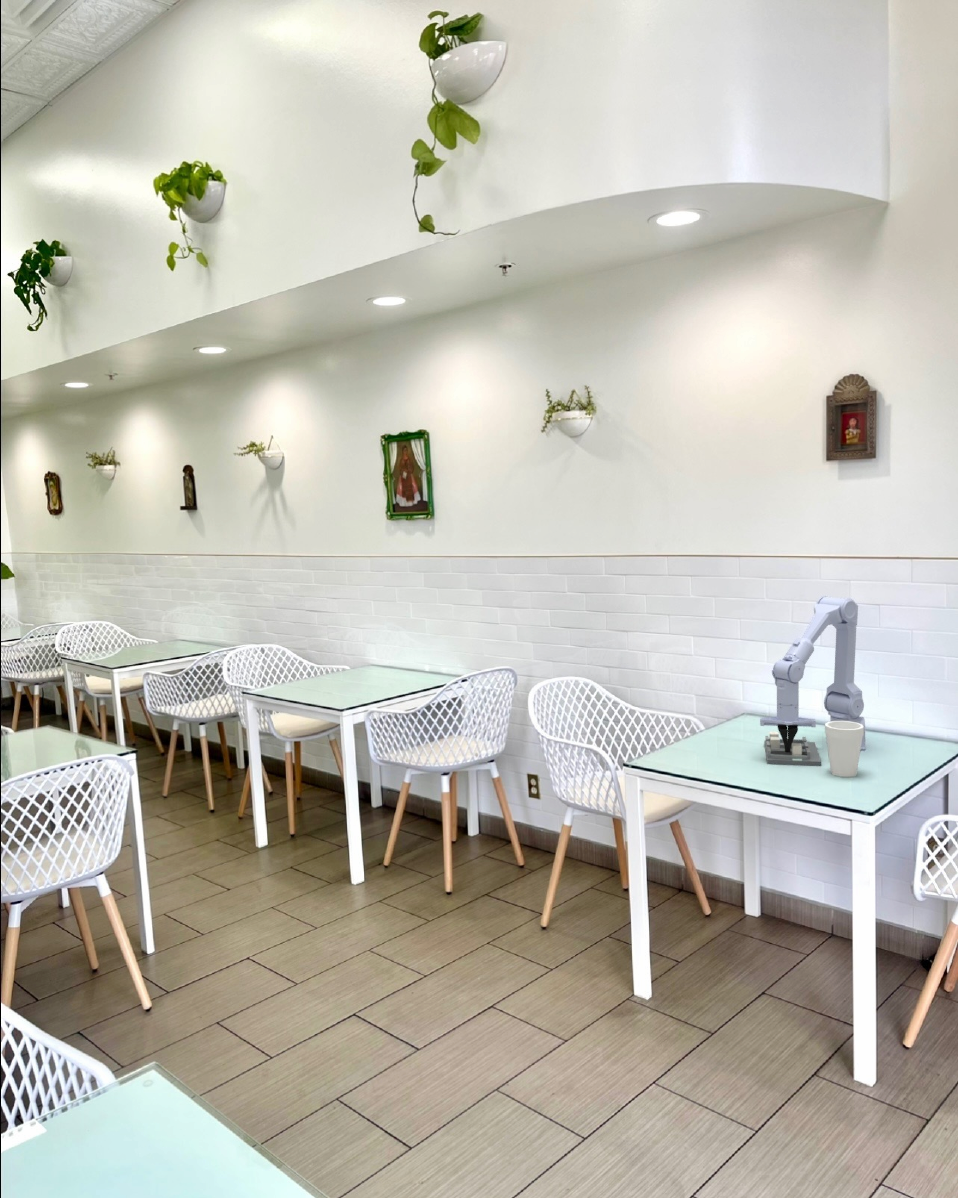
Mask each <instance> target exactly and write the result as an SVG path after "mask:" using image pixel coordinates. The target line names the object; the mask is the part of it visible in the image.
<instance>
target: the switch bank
mask: <svg viewBox="0 0 958 1198" xmlns="http://www.w3.org/2000/svg"><path fill="white" fill-rule="evenodd" d="M764 736H765V739H764V749H765V756H766V763H767V765H783V766H785V765H787V766H788V765H789V766H810V767H811V766H813V767H815V766H816V767H822V760H821V757H820V753H819V751H818V748H817V745H816V743H815V742H814V741H807V738H806V736H802V738H801V739H799V738H798V739H796V738H794V739H793V742H792V743H801V746H802V755H792V745H791V750H790V753H789V752H785V747H784V742H783V739H782V738H780V749H772V748H770V743H769V735H764ZM787 741H788V738H787Z"/></svg>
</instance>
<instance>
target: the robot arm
mask: <svg viewBox="0 0 958 1198" xmlns="http://www.w3.org/2000/svg"><path fill="white" fill-rule="evenodd" d="M813 611H814V612H813V613H814V615H813V617H812V619H810V621H809V623H808V626H807V628H806V629H805V631H804V633H803V634H802V637H800V638H796V639H794V640H793V642H792V644H791V646H790V647H789V649H787V652H786V653H785V655H784V656H783V658H782V659H779V660H778V661H776V662H775V663H774V664H773V667H772V670H771V674H772V677H773V679H774V685H775V686H776V716H769V717H768V716H767V717H759V725H760V727H765V726H771V727H775V726H776V727H777V730H778V733H779V734H780V736H781V739H783V742H784V747H785V752H789V753H790V750H791V745H792V742H793V739H795V737H796V736H797V734H798V731H799V727H804V728H805V727H806V728H807V727H808V728H816V723H817V721H816V719H815V718H805V717H799V711H800V710H799V709H800V708H799V705H800V704H799V701H800V700H799V697H800V696H799V694H800V693H799V692H800V690H799V688H800V687H799V685H800V683H799V682H800V681H801V680H802V679H803V678H804V673H805V669H806V663H808V661H809V659H810V658H811V656H812V654H814V652H815V647H814V646H815V645H814V644H815V642H816V641H817V640H818V639H819V637H820V636H821V635H822V633H823V632H824V631H825V630H826V628H827V627H828V626H829V625H832V626H833V628H835V652H834V653H835V654H834V673H833V674H834V675H833V677H834V678H833V683H831V684H830V685H828V686H827V687H826V693H825V696H824V699H823V705H824V709H825V710H826V711H827V715H828V716H830V717H829V719H830V721H829V722H832V721H850V722H856V723H859V724H862V725H863V727H864V736H863V737H862V743H861V750H860V751H863V750H864V751H865V750H866V720H865V716H861V714H863V711H864V707H865V704H864V703H865V702H864V699H863V691H862V690H861V688H859V686H857V685H856V684H855V665H856V664H855V663H856V641H857V627H858V615H859V613H858V611H859V605H858V604H857V603H856V602H855V600H854V599H853V598H849V597H848V598H842V597H831V596H826V595H823V596H821V597H819V598H818V599H817V601H816V603H815V605H814V606H813ZM787 739H788V741H787Z"/></svg>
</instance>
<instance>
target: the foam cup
mask: <svg viewBox="0 0 958 1198" xmlns="http://www.w3.org/2000/svg"><path fill="white" fill-rule="evenodd" d="M824 733H825V739H826V745H827V753H828V761H829V762H828V763H829V769H830V773H831V774H832V775H833V776H835V777H839V778H841V777H842V778H852V777H853V778H854V777H856V776H857V774H858V769H859V762H860V757H861V751H862V750H861V743H862V737H863V736H864V727H863V725H862V724H859V723H856V722H850V721H832V722H830V721H828V722H825V723H824Z"/></svg>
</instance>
